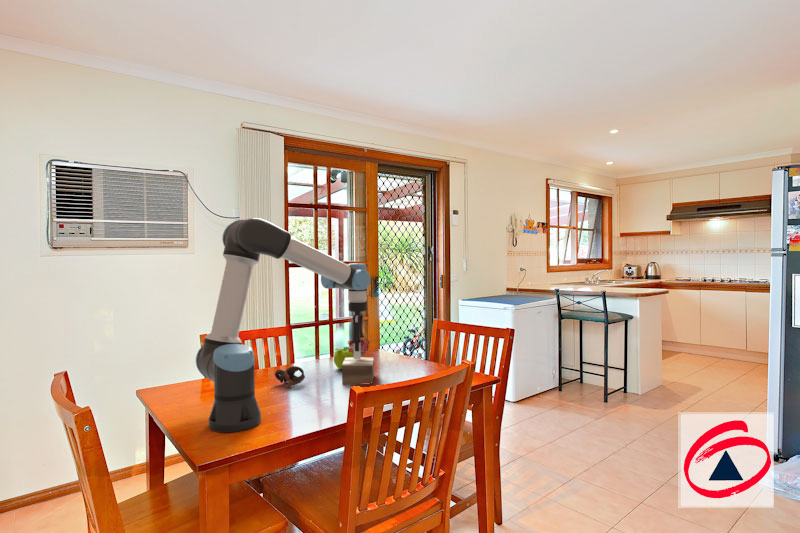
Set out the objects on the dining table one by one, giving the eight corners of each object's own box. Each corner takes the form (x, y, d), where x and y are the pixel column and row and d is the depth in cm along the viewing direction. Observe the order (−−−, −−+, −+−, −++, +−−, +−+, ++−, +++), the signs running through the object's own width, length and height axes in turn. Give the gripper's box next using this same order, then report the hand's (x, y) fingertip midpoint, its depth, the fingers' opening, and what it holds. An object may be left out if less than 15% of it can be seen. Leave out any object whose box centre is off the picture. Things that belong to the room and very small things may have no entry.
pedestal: (372, 384, 180) (372, 364, 179) (342, 384, 180) (342, 364, 179) (374, 376, 192) (373, 357, 191) (345, 376, 192) (345, 357, 191)
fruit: (329, 369, 203) (329, 347, 203) (344, 365, 210) (344, 344, 210) (343, 373, 197) (343, 350, 197) (358, 368, 204) (358, 346, 204)
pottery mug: (304, 381, 186) (308, 366, 183) (299, 398, 178) (302, 382, 174) (275, 374, 185) (278, 359, 182) (269, 391, 177) (271, 375, 173)
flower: (373, 354, 181) (372, 336, 185) (351, 352, 177) (351, 333, 182) (364, 364, 188) (364, 346, 192) (343, 361, 184) (343, 343, 189)
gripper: (365, 304, 174) (365, 362, 174) (368, 298, 196) (369, 350, 196) (345, 304, 174) (346, 362, 174) (351, 298, 195) (351, 350, 196)
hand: (358, 356), depth 185 cm, fingers closed on flower, 9 cm apart
